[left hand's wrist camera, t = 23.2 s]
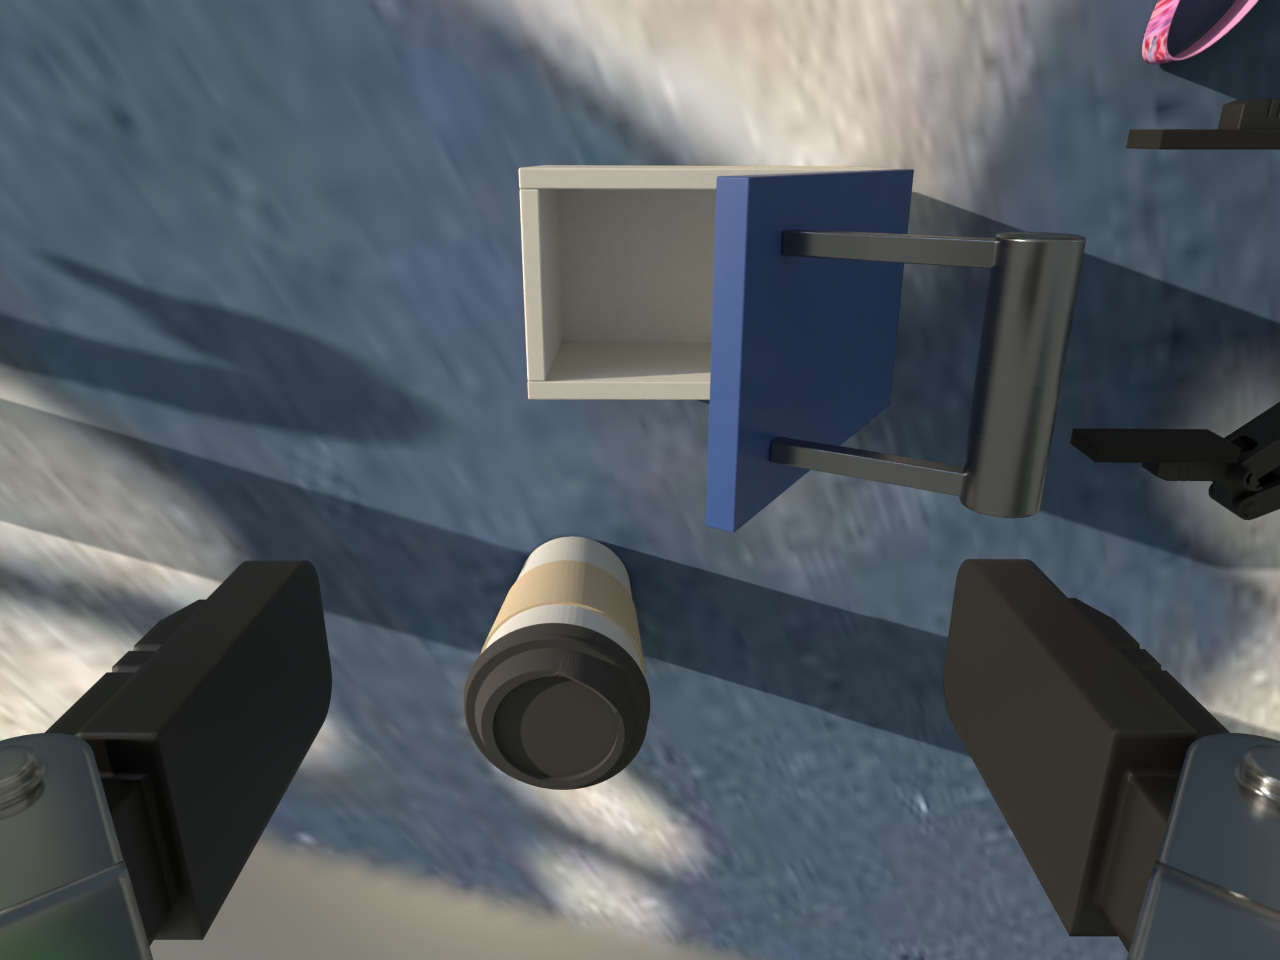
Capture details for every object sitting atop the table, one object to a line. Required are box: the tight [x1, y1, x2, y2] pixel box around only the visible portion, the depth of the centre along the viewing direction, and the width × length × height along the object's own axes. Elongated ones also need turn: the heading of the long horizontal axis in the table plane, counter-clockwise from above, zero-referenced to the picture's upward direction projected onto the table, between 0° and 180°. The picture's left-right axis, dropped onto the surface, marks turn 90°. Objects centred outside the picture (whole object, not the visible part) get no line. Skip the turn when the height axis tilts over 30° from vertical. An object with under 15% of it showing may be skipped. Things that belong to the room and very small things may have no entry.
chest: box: [519, 165, 886, 400], centre depth 43 cm, size 16×10×10 cm, turn 90°
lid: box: [706, 169, 1086, 532], centre depth 29 cm, size 17×10×9 cm
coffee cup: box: [464, 537, 650, 790], centre depth 47 cm, size 9×9×15 cm
